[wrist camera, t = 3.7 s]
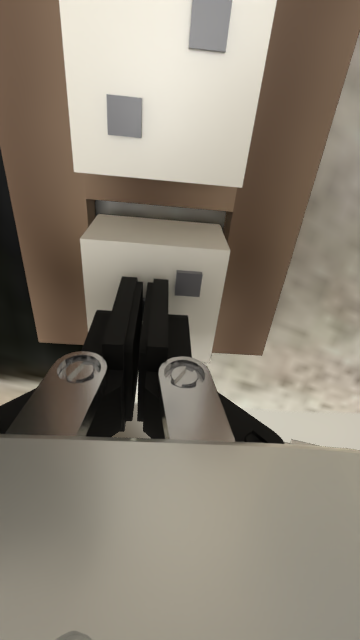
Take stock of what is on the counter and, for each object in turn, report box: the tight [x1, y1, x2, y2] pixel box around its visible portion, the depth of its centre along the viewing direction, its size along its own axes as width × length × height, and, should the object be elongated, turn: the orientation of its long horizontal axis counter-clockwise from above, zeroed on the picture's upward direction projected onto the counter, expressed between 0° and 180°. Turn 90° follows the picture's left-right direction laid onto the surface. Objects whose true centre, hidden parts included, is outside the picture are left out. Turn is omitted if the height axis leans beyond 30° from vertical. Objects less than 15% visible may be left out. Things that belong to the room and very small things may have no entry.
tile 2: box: [59, 0, 277, 188], centre depth 9 cm, size 5×5×3 cm
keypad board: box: [0, 0, 360, 356], centre depth 11 cm, size 12×23×2 cm, turn 175°
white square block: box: [80, 214, 230, 363], centre depth 13 cm, size 5×5×3 cm
